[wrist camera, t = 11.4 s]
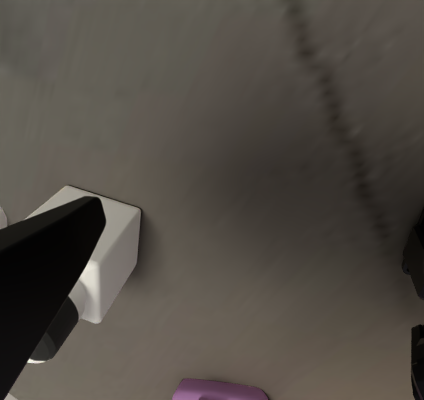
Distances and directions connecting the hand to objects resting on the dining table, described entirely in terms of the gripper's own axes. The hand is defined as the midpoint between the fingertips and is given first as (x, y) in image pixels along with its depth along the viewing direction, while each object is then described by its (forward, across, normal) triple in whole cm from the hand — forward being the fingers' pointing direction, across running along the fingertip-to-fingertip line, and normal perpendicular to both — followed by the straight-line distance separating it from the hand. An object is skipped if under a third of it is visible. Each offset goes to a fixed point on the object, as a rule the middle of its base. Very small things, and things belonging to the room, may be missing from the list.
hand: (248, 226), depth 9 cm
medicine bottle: (+13, +15, +12) cm, 23 cm away
